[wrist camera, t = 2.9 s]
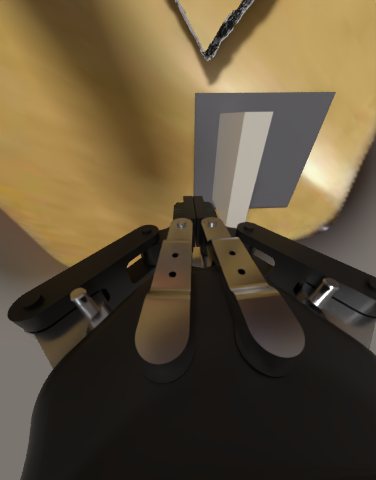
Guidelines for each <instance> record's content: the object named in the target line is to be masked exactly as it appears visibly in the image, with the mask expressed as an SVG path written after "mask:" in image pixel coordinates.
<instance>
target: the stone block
mask: <svg viewBox="0 0 376 480" xmlns="http://www.w3.org/2000/svg"><path fill="white" fill-rule="evenodd" d="M272 115H273V112H237V113H222V114H220V119H219V130H218V141H217V152H216V163H215V174H214V184H213V195H212V200H213V202H214V205H215V207H216V210H217V212H218V215H219V217H220V219H221V220H222V221H223V223H224V224H225V226H227V227H231V228H237V225H238V224H239V223H242V222H245V221H246V217H247V213H248V209H249V205H250V201H251V197H252V193H253V189H254V185H255V182H256V178H257V174H258V170H259V166H260V162H261V158H262V154H263V150H264V146H265V143H266V139H267V135H268V131H269V127H270V123H271V119H272Z"/></svg>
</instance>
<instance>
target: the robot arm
mask: <svg viewBox="0 0 376 480" xmlns="http://www.w3.org/2000/svg"><path fill="white" fill-rule="evenodd" d="M183 201H184V202H181V203H176V204H175V205H174V214H173V221H172V222H171V223H170V227H169V228H167V229H163V230H159V229H158V227H156V226H154V225H144V226H141V227H139V228H137V229H136V230H134V231H132V232H130V233H129V234H127V235H125V236H123V237H122V238H120V239H118V240H117V241H115V242H113V243H111V244H110V245H108V246H106V247H104V248H103V249H101V250H99V251H98V252H96V253H94V254H92V255H91V256H89V257H87V258H85V259H84V260H82V261H80V262H79V263H77V264H75V265H73V266H72V267H70V268H68V269H67V270H65V271H63V272H61V273H60V274H58V275H56V276H54V277H53V278H51V279H49V280H48V281H46V282H44V283H43V284H41V285H39V286H37V287H35V288H34V289H32V290H30V291H28V292H27V293H25V294H24V295H22V296H21V297H20V298H18V299H17V300H16V301H15V302H14V303H13V304H12V306H11V307H10V309H9V311H8V318H9V319H10V320H11V321H12V322H14V323H15V324H17V325H18V326H20V327H21V328H23V329H24V331H25V332H26V333H28V334H29V335H31V336H33V337H34V338H36V339H37V340H38V342H39V344H40V346H41V348H42V350H43V351H44V353H45V355H46V357H47V359H48V360H49V362H50V364H51V366H52V368H53V370H52V372H51V373H50V375H49V376H48V378H47V379H46V381H45V383H44V384H43V387H42V388H41V390H40V393H39V395H38V397H37V400H36V403H35V406H34V409H33V413H32V419H31V427H30V436H29V444H28V450H27V455H26V460H25V464H24V468H23V472H22V476H21V479H20V480H376V355H375V354H373V352H371V351H370V350H369V348H370V344H371V339H372V335H373V331H374V327H375V322H376V277H374V276H371V275H369V274H367V273H365V272H362V271H360V270H358V269H356V268H353V267H351V266H349V265H346V264H344V263H342V262H340V261H338V260H335V259H333V258H331V257H329V256H326V255H324V254H322V253H319V252H317V251H315V250H313V249H310V248H308V247H306V246H304V245H301V244H299V243H297V242H295V241H292V240H290V239H288V238H286V237H283V236H281V235H279V234H277V233H274V232H272V231H270V230H268V229H265V228H263V227H261V226H258V225H256V224H254V223H250V222H242V223H239V224H238V225H237V228H231V227H227V226H225V224H224V223H223V221H222V220H221V219H219V218H218V217H217V215H216V212H215V209H214V207H213V204H211V203H210V202H204V200H203V196H193V197H192V196H183ZM195 241H196V247H200V258H201V262H202V266H203V268H200V267H193V266H192V253H193V247H195ZM255 249H258V250H260V251H262V252H264V253H265V254H267V255H269V256H271V257H273V259H274V261H275V266H272V265H270V264H268V263H267V262H265V261H263V260H261V259H260V258H258V257H256V256H255V255H253V254H254V251H255ZM140 254H141V257H142V258H140V259H139V260H138V261H136V262H135V263H134V264H132V265H131V266H130V267H128V268H127V265H128V263H129V262H130V261H131V260H133V259H134V258H135V257H137V256H138V255H140Z"/></svg>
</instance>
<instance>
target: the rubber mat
mask: <svg viewBox="0 0 376 480" xmlns="http://www.w3.org/2000/svg"><path fill="white" fill-rule="evenodd" d="M335 93H336V92H292V93H195V152H194V196H203V200H204V202H210V203H211V204H213V207H214V209H216V207H215V205H214V202H213V200H212V195H213V184H214V174H215V163H216V152H217V141H218V130H219V119H220V114H222V113H237V112H273V115H272V119H271V123H270V127H269V131H268V135H267V139H266V143H265V146H264V150H263V154H262V158H261V162H260V166H259V170H258V174H257V178H256V182H255V185H254V189H253V193H252V197H251V201H250V205H249V208H259V207H287V206H288V204H289V202H290V199H291V197H292V195H293V192H294V190H295V187H296V185H297V183H298V180H299V178H300V176H301V173H302V171H303V169H304V166H305V164H306V161H307V159H308V157H309V154H310V152H311V150H312V147H313V145H314V143H315V140H316V138H317V135H318V133H319V131H320V128H321V126H322V124H323V121H324V119H325V117H326V114H327V112H328V110H329V107H330V105H331V102H332V100H333V98H334V95H335Z"/></svg>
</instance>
